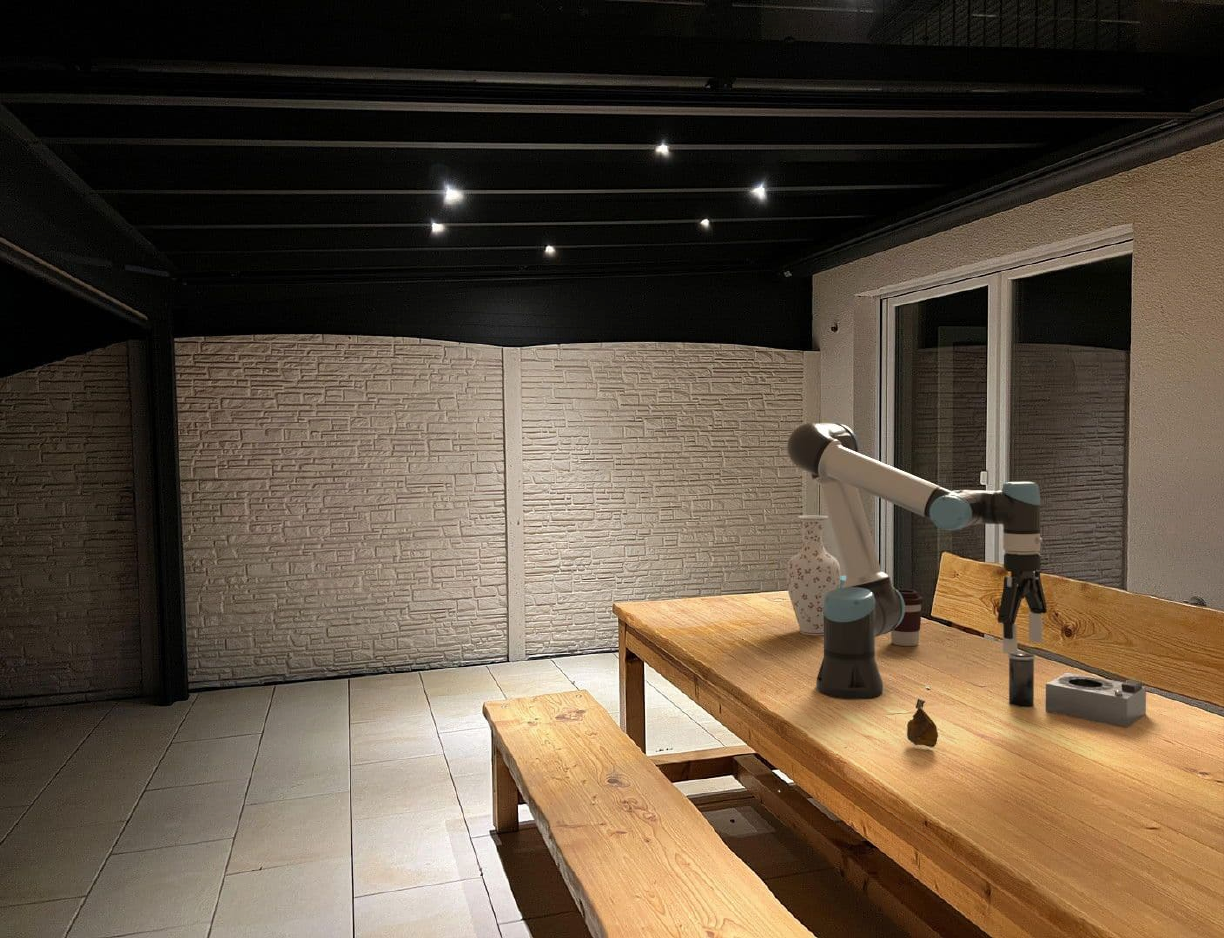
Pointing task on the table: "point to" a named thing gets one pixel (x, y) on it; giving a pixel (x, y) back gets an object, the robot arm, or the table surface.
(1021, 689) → the lens
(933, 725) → the chicken drumstick
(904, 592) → the coffee cup
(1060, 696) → the grey block with hole
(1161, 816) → the table surface
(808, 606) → the vase
